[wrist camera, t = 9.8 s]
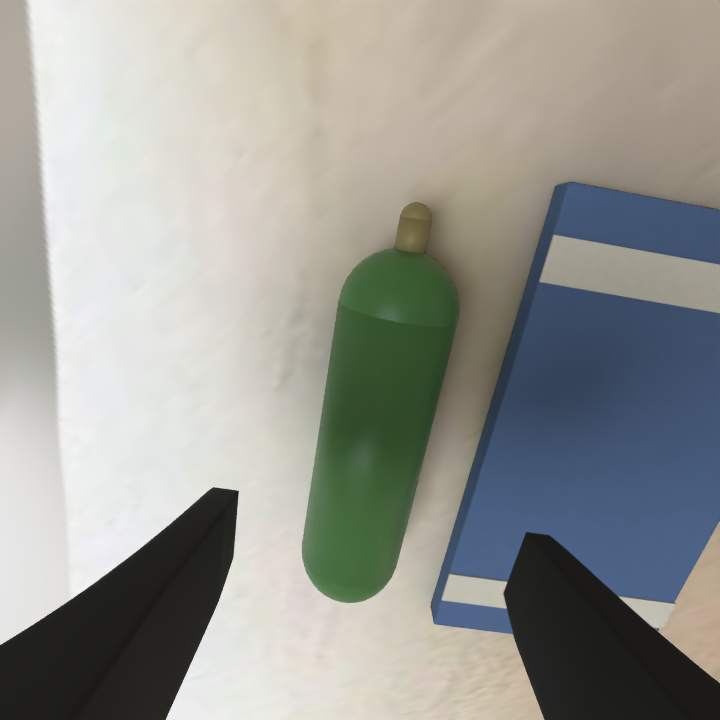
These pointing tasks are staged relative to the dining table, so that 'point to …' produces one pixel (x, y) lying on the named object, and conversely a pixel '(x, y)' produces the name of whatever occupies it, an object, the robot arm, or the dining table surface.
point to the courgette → (378, 411)
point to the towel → (601, 410)
